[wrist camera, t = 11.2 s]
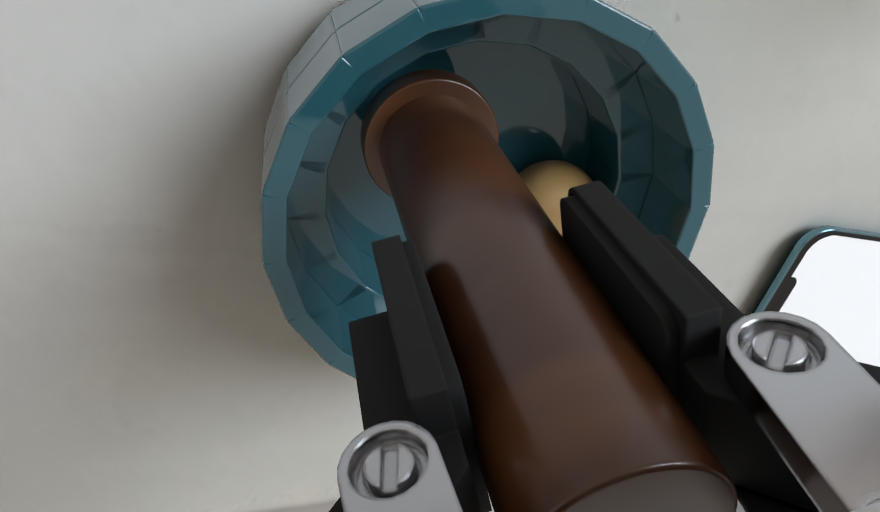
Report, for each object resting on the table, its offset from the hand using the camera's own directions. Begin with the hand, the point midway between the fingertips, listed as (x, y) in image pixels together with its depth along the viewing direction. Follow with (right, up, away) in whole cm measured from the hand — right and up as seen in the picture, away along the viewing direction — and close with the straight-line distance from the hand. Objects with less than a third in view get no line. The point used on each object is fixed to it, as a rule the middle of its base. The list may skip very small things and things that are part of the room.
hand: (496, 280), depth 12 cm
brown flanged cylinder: (-1, +4, +5) cm, 7 cm away
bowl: (-1, +4, +9) cm, 10 cm away
